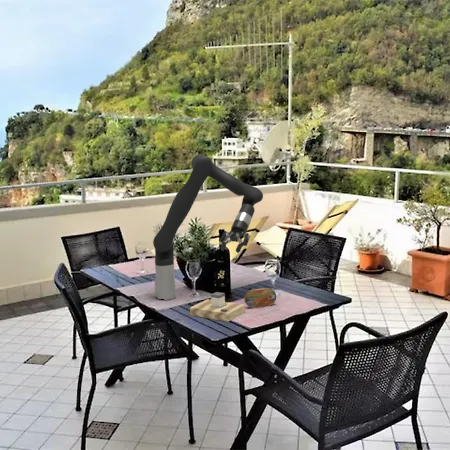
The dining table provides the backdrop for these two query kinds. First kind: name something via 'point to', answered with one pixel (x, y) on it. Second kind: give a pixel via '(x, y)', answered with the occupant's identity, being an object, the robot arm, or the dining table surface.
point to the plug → (218, 300)
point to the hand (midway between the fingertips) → (229, 251)
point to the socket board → (217, 311)
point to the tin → (260, 297)
